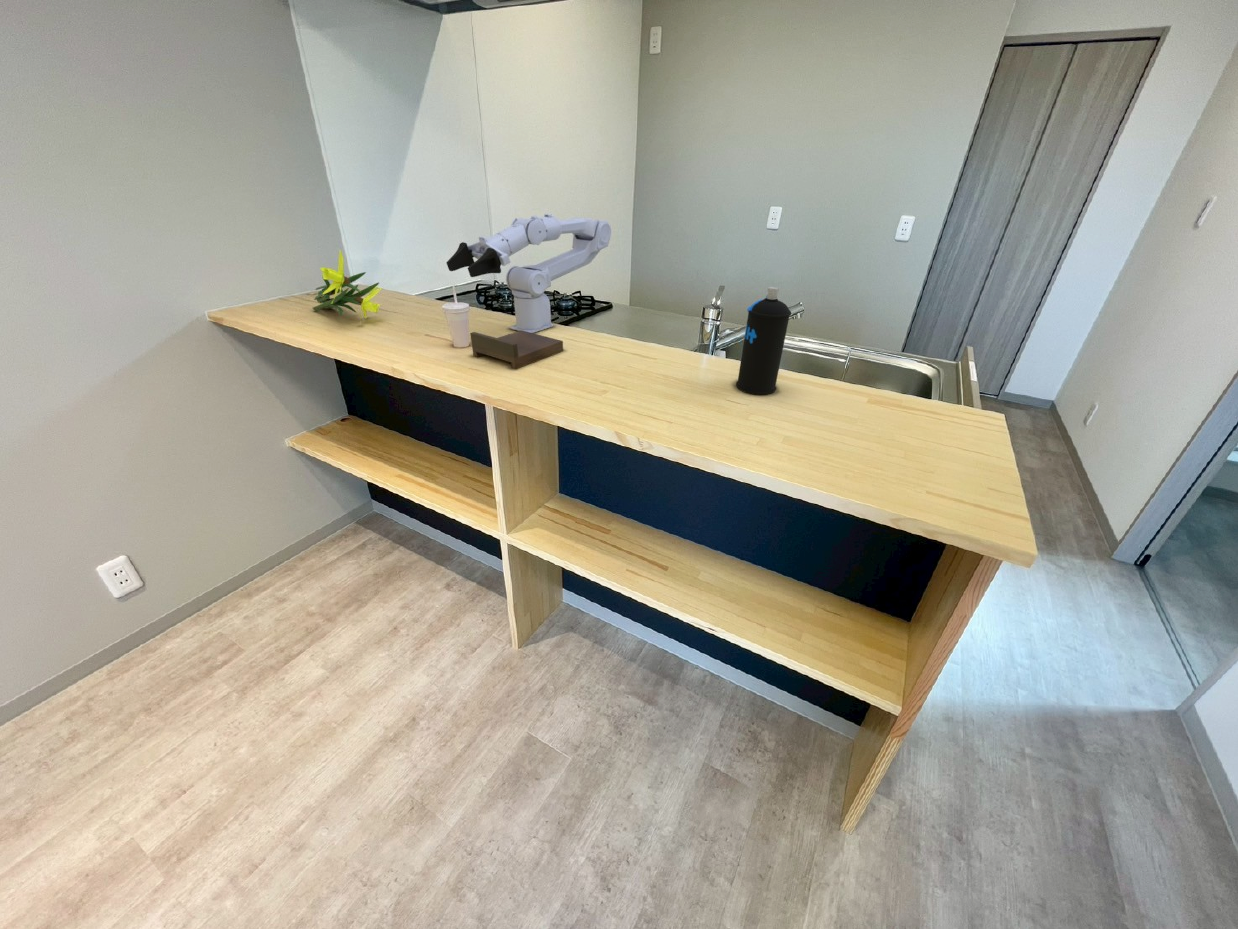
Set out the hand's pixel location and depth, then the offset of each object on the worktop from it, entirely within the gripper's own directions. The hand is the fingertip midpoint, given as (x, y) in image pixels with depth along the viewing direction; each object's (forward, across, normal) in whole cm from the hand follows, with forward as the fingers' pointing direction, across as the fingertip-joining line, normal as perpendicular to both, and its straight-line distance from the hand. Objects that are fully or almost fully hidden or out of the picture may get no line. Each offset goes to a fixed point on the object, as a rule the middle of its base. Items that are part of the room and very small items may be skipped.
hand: (459, 269), depth 112 cm
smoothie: (+6, -1, +17) cm, 18 cm away
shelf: (+1, +14, +18) cm, 23 cm away
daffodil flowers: (+13, -46, +17) cm, 51 cm away
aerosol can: (-16, +67, +20) cm, 72 cm away
